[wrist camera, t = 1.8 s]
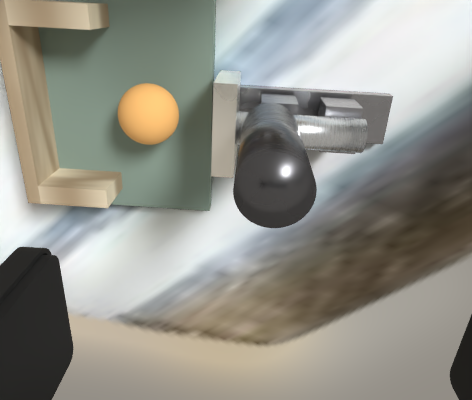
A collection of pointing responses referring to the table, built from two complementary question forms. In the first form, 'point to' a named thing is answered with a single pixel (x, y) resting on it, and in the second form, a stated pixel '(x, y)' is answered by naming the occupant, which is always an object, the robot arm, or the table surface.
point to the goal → (46, 102)
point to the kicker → (277, 148)
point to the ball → (148, 113)
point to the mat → (125, 77)
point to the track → (309, 99)
